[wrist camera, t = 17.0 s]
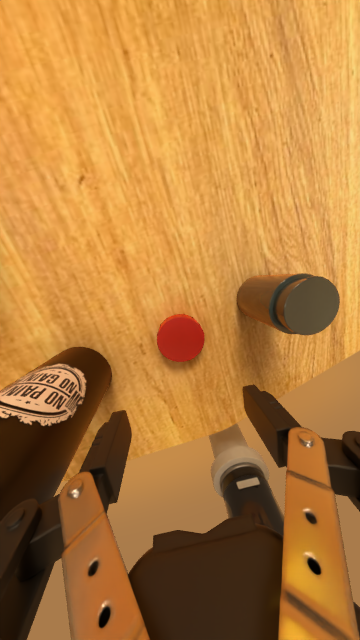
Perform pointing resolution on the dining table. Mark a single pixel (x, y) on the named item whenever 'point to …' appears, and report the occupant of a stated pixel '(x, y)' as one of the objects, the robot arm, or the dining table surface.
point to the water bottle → (47, 423)
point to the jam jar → (290, 302)
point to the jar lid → (180, 338)
